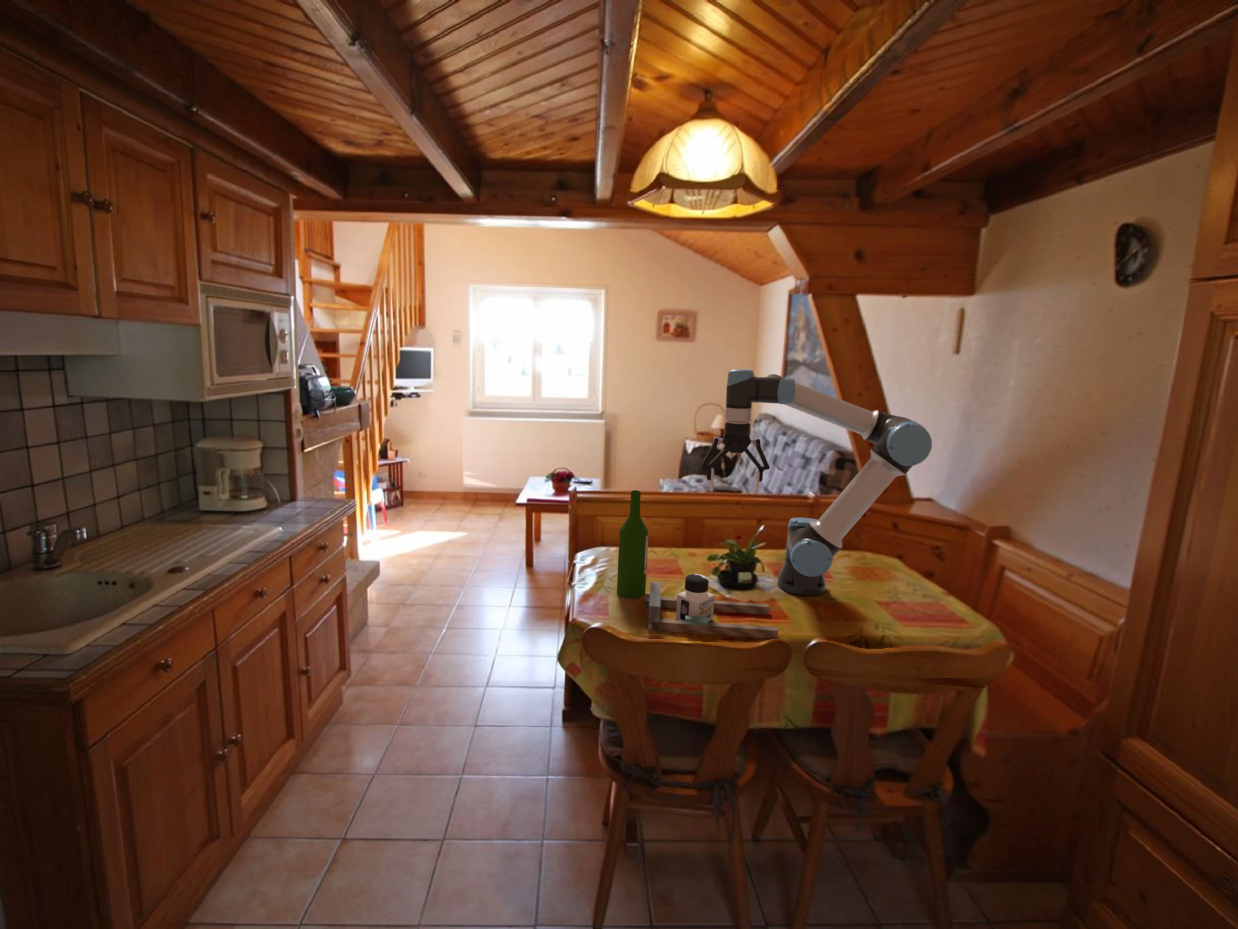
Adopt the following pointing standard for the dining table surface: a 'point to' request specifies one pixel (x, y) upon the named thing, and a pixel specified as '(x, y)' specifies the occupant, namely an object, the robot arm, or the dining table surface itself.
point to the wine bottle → (632, 552)
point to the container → (695, 598)
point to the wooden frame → (701, 623)
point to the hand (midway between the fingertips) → (733, 491)
